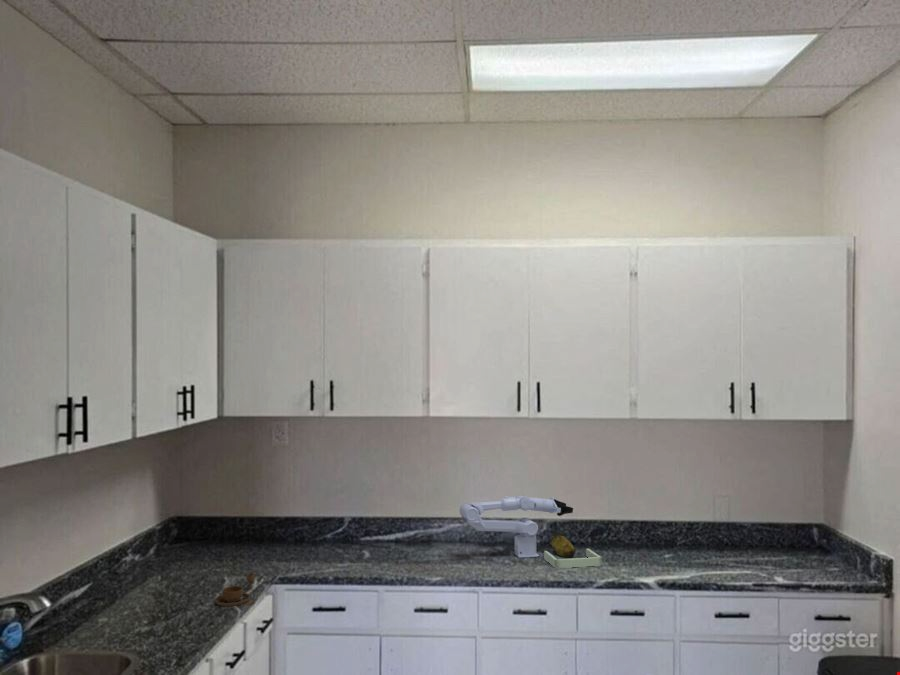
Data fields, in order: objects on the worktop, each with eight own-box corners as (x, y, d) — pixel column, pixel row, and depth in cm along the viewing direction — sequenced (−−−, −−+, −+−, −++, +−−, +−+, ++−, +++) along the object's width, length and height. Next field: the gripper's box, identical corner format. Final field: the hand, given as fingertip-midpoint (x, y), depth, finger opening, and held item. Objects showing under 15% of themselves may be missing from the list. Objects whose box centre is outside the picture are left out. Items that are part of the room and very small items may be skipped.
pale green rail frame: (555, 568, 287) (555, 560, 287) (544, 559, 302) (544, 551, 302) (602, 566, 291) (602, 557, 291) (588, 556, 306) (588, 548, 306)
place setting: (203, 602, 250) (203, 585, 251) (250, 588, 266) (250, 572, 266) (232, 612, 239) (232, 594, 240) (279, 597, 255) (279, 580, 255)
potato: (559, 559, 302) (558, 540, 302) (549, 552, 314) (548, 534, 315) (577, 558, 303) (576, 539, 304) (566, 550, 316) (566, 533, 316)
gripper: (549, 500, 305) (577, 503, 308) (537, 492, 319) (564, 495, 322) (546, 516, 305) (574, 519, 308) (534, 507, 319) (561, 510, 322)
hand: (569, 508), depth 315 cm, fingers open, 7 cm apart
